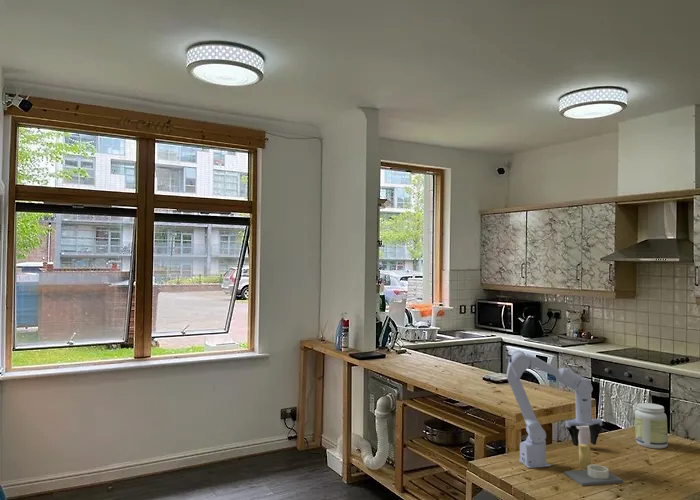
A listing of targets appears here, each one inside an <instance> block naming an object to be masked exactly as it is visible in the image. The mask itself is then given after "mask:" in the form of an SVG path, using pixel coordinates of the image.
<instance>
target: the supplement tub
mask: <svg viewBox="0 0 700 500" xmlns="http://www.w3.org/2000/svg"><path fill="white" fill-rule="evenodd" d="M634 425H635V426H634V428H635V429H634V430H635V441H636V442H635V443H636V444H638V445H639V446H642V447H644V448H648V449H649V448H650V449H665V448H667V447H668V445H669V441H668V440H669V439H668V438H669V437H668V417H667V414H666V413H665V407H664V406H663V405H660V404H658V403H657V404H656V403H651V402H640V403H637V404H636V410H635V412H634Z"/></svg>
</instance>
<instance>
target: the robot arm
mask: <svg viewBox="0 0 700 500" xmlns="http://www.w3.org/2000/svg"><path fill="white" fill-rule="evenodd" d="M529 368H530V369H532V370H533V369H536V368H537V369H539V370H541V371H544V372H545V373H547V374H549V375H551V376H554V377H555V380H556V381H557V382H558V383H560V384H562V385H564V386H566V387H568V388H570V389H572V390H573V389H574V390H575V391H574V392H575V393H574V395H575V397H574V400H575V401H574V402H575V404H574V405H575V408H574V409H575V418H574V419H570V420H565V421H564V422H565V424H564V425H565V427H566V429H567V430H568V432H569V435H570V438H571V441H572V444H573V445H574V446H575V447H579V440H578V434H579V429H577V427H576V426H589V430H590V443H591V444H592V445H594V446H595V445H596V444H597V440H598V437H599V434H600V433H601V432H602V430H603V429H602V428H603V427H602V426H603V420H602V419H600V418H593V417H592V413H593V412H592V392H593V390H594V388H593V385H592V383H591V382H590V381H589V380H588V379H587V378H585V377H584V376H582V375H581V374H576V373H574V372H572V371H571V369H570V368H568V367H567V368H564V367H561V368H557V367H555V366H554V365H551V364H549V363H548V362H546V361H544V360H542V359H540V358H539V357H537V356H535V355H532V354H530V353H525V352H524V351H521V350H515V351H514V352H512V354H511V355H510V357H509V358H508V364H507V369H506V379H507V382H508V384H509V386H510V388H511V391H512V393H513V396H514V397H515V401H516V403H517V405H518V407H519V411H520V412H521V414H522V418H523V420H524V422H525V431H526V433H527V434H528V435H527V436H526V440H523V441H521V442H520V443H519V460H518V461H519V462H520V463H521V464H522V465H524V466H526V468H528V469H530V468H531V469H533V468H545V467H547V468H548V467H551V466H552V465H551V464H550V463H549V462H547V441H546V439H547V433H546V431H545V429H544V428H543V426H542V424H541V423H540V422H539V420H538V418H537V417H536V414H535V412H534V410H533V407H532V404H531V402H530V400H529V398H528V396H527V393H526V390H525V388H524V386H523V383H522V381H521V378H522V376H523V373H524V372H525V371H526V370H527V369H529Z"/></svg>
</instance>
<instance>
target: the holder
mask: <svg viewBox="0 0 700 500" xmlns="http://www.w3.org/2000/svg"><path fill="white" fill-rule="evenodd" d="M564 475H566V476H567V477H568V478H570V479H571V480H573V481H574V482H576V483H577V484H579V485H580V486H582V487H586V486H595V485H608V484H609V485H610V484H622V482H623V483H624V479H622V478H621V477H619V476H617V475H616V474H614V473H612V472H610V470H609V468H608V467H607V466H604V465H600V464H591V465H588V466H587V468H586V469H579V470H566V471H564Z"/></svg>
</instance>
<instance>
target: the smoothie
mask: <svg viewBox="0 0 700 500" xmlns="http://www.w3.org/2000/svg"><path fill="white" fill-rule="evenodd" d="M576 427H577V429H579V434H578V445H579V444H586V445H589V446H590V443H591V439H590V430H589V426H576Z"/></svg>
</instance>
